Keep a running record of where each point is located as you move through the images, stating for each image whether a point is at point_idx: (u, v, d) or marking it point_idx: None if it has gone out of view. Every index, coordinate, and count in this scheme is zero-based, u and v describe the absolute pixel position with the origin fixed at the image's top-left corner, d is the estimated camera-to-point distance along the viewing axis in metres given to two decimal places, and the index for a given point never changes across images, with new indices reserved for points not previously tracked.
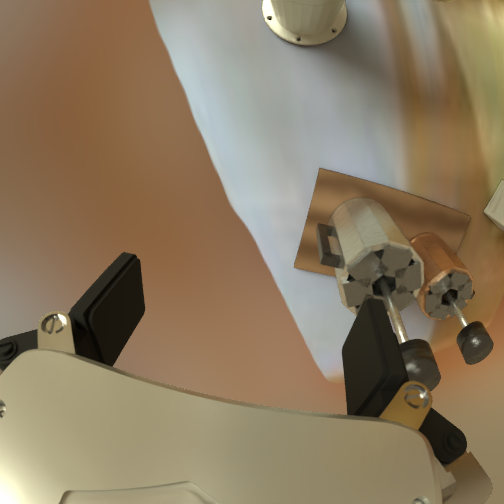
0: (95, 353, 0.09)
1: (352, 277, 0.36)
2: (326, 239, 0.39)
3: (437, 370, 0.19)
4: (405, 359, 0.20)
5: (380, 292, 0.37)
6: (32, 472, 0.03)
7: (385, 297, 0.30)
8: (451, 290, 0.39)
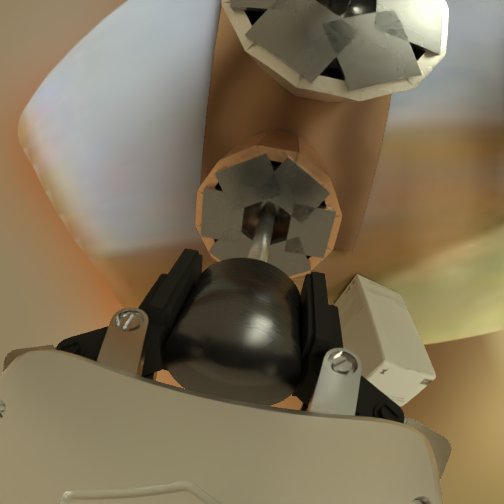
0: None
1: None
2: None
3: None
4: None
5: None
6: (32, 472, 0.03)
7: None
8: None
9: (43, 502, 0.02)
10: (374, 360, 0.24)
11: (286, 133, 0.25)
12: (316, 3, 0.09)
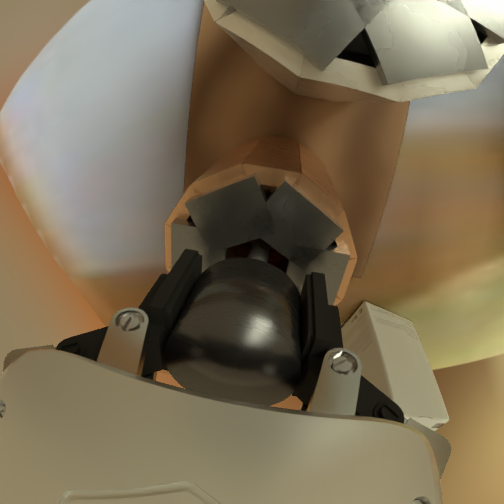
0: None
1: None
2: None
3: None
4: None
5: None
6: (32, 472, 0.03)
7: None
8: None
9: (43, 502, 0.02)
10: None
11: (284, 140, 0.21)
12: None
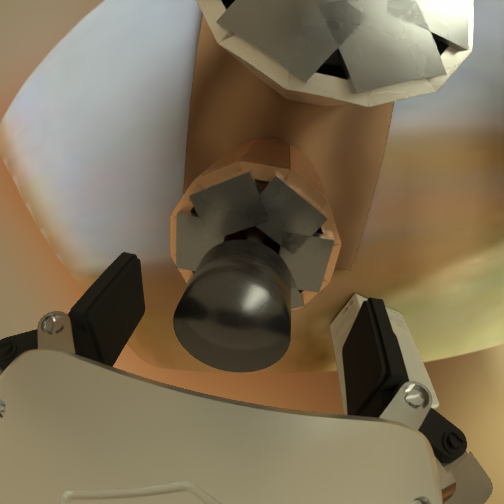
0: (95, 352, 0.09)
1: None
2: None
3: None
4: None
5: None
6: (32, 472, 0.03)
7: None
8: None
9: (43, 502, 0.02)
10: None
11: (277, 142, 0.23)
12: None
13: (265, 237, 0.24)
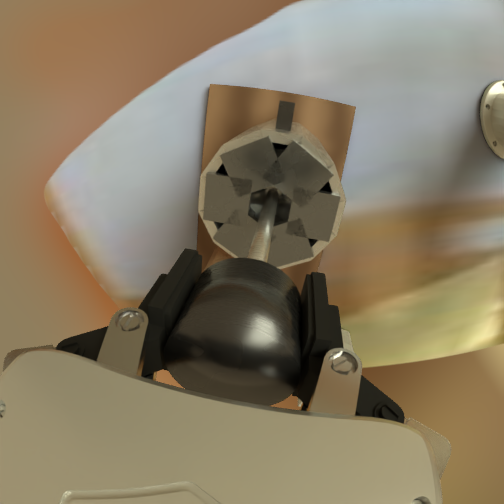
0: None
1: None
2: None
3: None
4: (287, 308, 0.09)
5: None
6: (32, 472, 0.03)
7: (268, 213, 0.19)
8: None
9: (43, 502, 0.02)
10: None
11: None
12: (251, 219, 0.22)
13: None
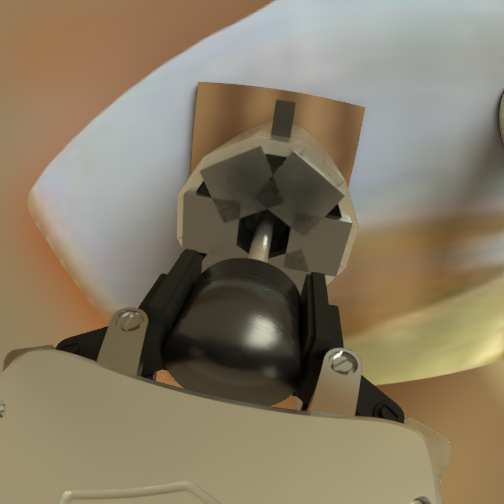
0: None
1: None
2: None
3: None
4: (287, 308, 0.09)
5: None
6: (32, 472, 0.03)
7: (268, 213, 0.19)
8: None
9: (43, 502, 0.02)
10: None
11: None
12: (241, 250, 0.18)
13: None
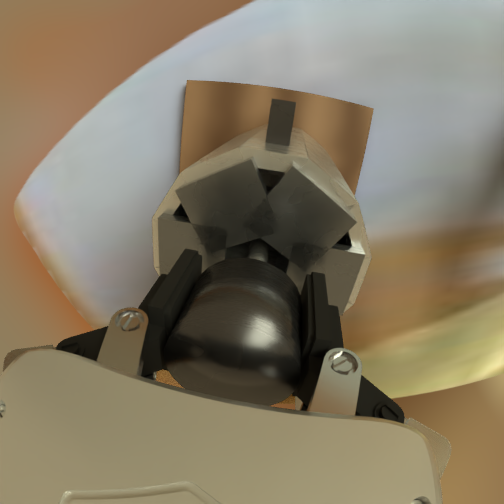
0: None
1: None
2: None
3: None
4: (287, 308, 0.09)
5: None
6: (32, 472, 0.03)
7: None
8: None
9: (43, 502, 0.02)
10: None
11: None
12: None
13: None
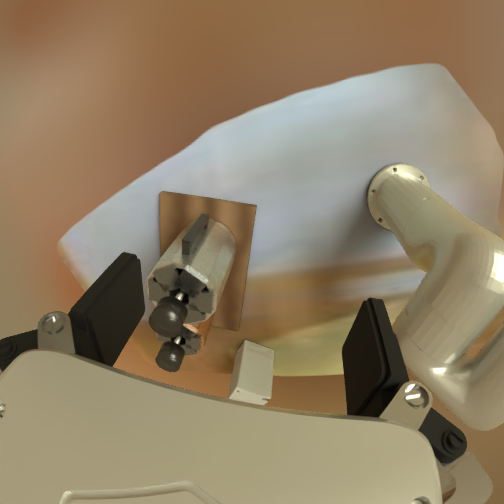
0: (95, 352, 0.09)
1: None
2: (199, 232, 0.45)
3: (178, 333, 0.37)
4: (177, 310, 0.37)
5: None
6: (32, 472, 0.03)
7: None
8: None
9: (43, 502, 0.02)
10: (235, 385, 0.57)
11: None
12: None
13: None
